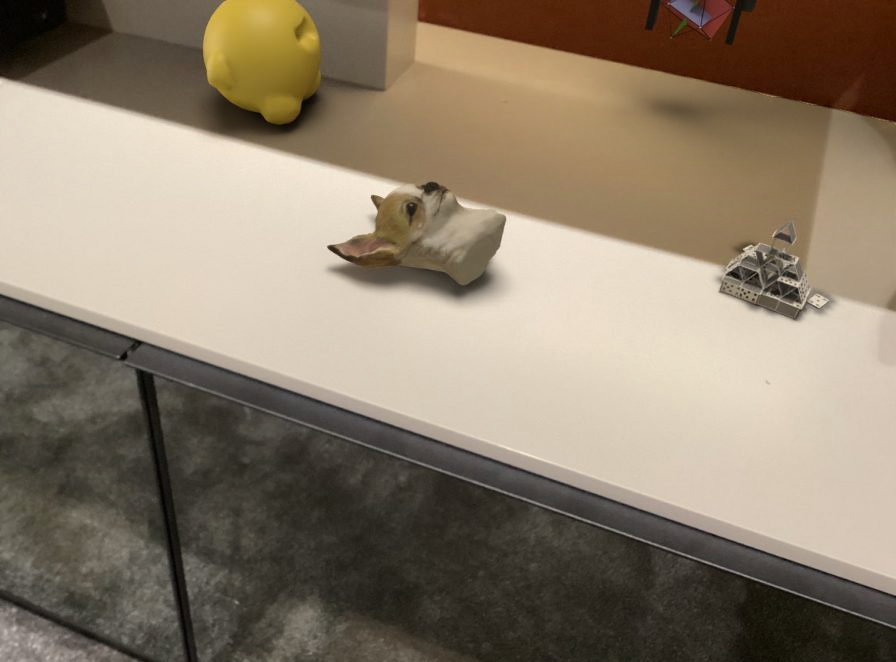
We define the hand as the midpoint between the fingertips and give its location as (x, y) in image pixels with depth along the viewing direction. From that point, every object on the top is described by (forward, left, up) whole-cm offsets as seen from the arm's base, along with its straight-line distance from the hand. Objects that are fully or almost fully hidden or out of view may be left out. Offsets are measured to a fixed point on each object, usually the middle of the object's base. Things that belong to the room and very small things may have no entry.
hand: (689, 31), depth 103 cm
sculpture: (+42, +18, -9) cm, 47 cm away
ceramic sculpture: (+16, +38, -9) cm, 42 cm away
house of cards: (-15, +28, -9) cm, 33 cm away
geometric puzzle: (0, 0, 0) cm, 0 cm away
